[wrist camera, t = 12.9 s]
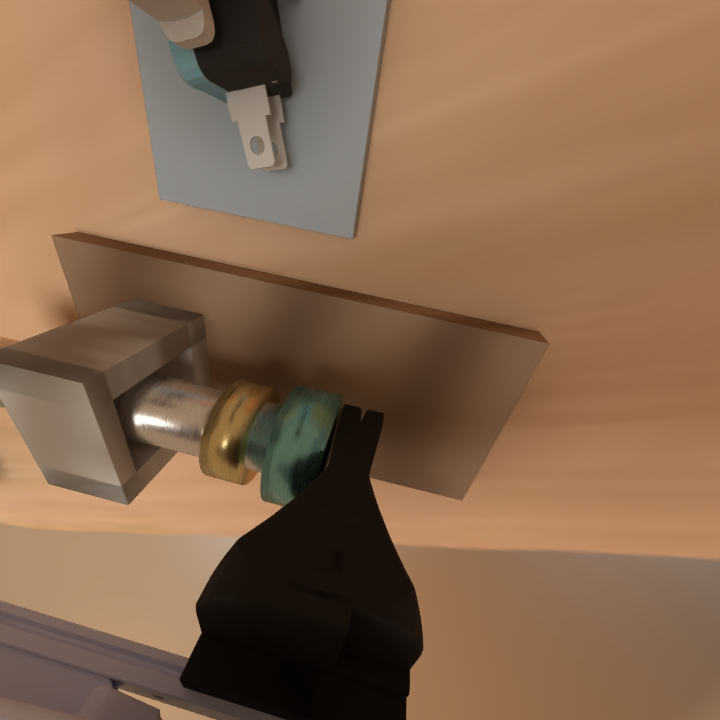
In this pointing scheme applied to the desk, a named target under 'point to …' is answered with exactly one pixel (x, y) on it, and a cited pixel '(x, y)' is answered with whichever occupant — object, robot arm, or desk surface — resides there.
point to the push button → (233, 63)
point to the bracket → (255, 365)
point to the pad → (300, 130)
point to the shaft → (235, 429)
